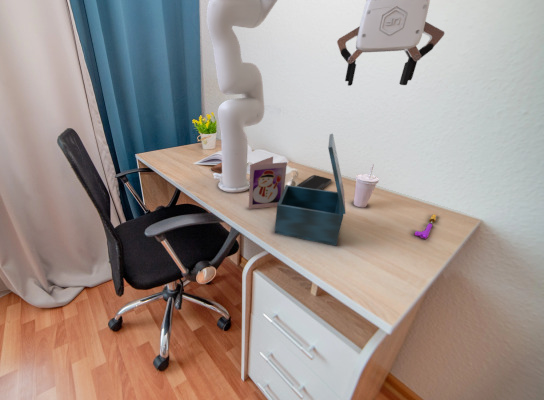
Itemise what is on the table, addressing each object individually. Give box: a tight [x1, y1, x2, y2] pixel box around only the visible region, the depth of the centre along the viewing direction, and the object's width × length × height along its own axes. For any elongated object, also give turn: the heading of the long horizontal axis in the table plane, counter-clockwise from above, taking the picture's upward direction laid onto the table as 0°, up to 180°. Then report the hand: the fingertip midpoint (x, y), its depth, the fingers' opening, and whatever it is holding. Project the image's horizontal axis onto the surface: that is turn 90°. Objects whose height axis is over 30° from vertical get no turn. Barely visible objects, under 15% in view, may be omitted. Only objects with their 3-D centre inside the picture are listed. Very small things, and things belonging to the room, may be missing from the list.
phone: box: [296, 174, 332, 190], centre depth 93 cm, size 8×1×15 cm
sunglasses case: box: [210, 161, 222, 174], centre depth 113 cm, size 18×7×7 cm, turn 140°
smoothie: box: [353, 163, 380, 208], centre depth 76 cm, size 6×6×14 cm
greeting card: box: [248, 156, 288, 210], centre depth 78 cm, size 11×7×15 cm, turn 99°
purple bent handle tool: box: [414, 214, 437, 240], centre depth 67 cm, size 3×1×16 cm
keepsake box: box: [274, 184, 344, 247], centre depth 67 cm, size 16×14×9 cm
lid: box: [327, 133, 347, 216], centre depth 59 cm, size 16×14×1 cm
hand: (375, 85), depth 49 cm, fingers open, 9 cm apart
